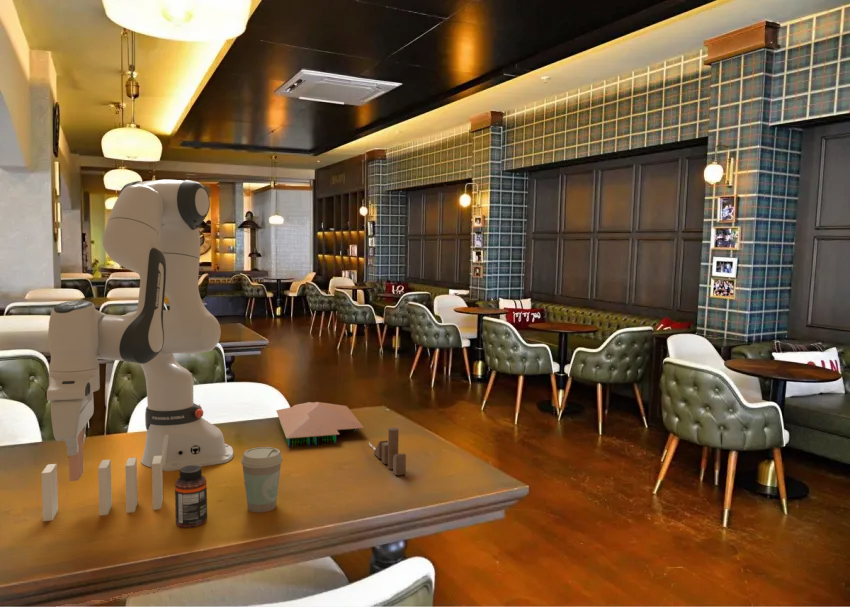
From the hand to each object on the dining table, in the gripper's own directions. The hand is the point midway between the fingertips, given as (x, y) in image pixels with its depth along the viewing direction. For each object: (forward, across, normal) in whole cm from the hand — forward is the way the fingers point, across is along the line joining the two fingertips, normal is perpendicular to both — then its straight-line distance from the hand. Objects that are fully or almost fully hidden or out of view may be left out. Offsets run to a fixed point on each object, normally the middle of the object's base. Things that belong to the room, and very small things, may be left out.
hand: (76, 449), depth 126 cm
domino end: (+14, 0, -5) cm, 14 cm away
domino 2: (+14, 0, +5) cm, 14 cm away
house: (+14, -48, +57) cm, 76 cm away
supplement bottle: (+14, +11, +22) cm, 28 cm away
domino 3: (+14, 0, +10) cm, 17 cm away
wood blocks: (+13, -15, +69) cm, 72 cm away
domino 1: (+6, 0, 0) cm, 6 cm away
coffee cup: (+14, +7, +36) cm, 39 cm away
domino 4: (+14, 0, +15) cm, 20 cm away
